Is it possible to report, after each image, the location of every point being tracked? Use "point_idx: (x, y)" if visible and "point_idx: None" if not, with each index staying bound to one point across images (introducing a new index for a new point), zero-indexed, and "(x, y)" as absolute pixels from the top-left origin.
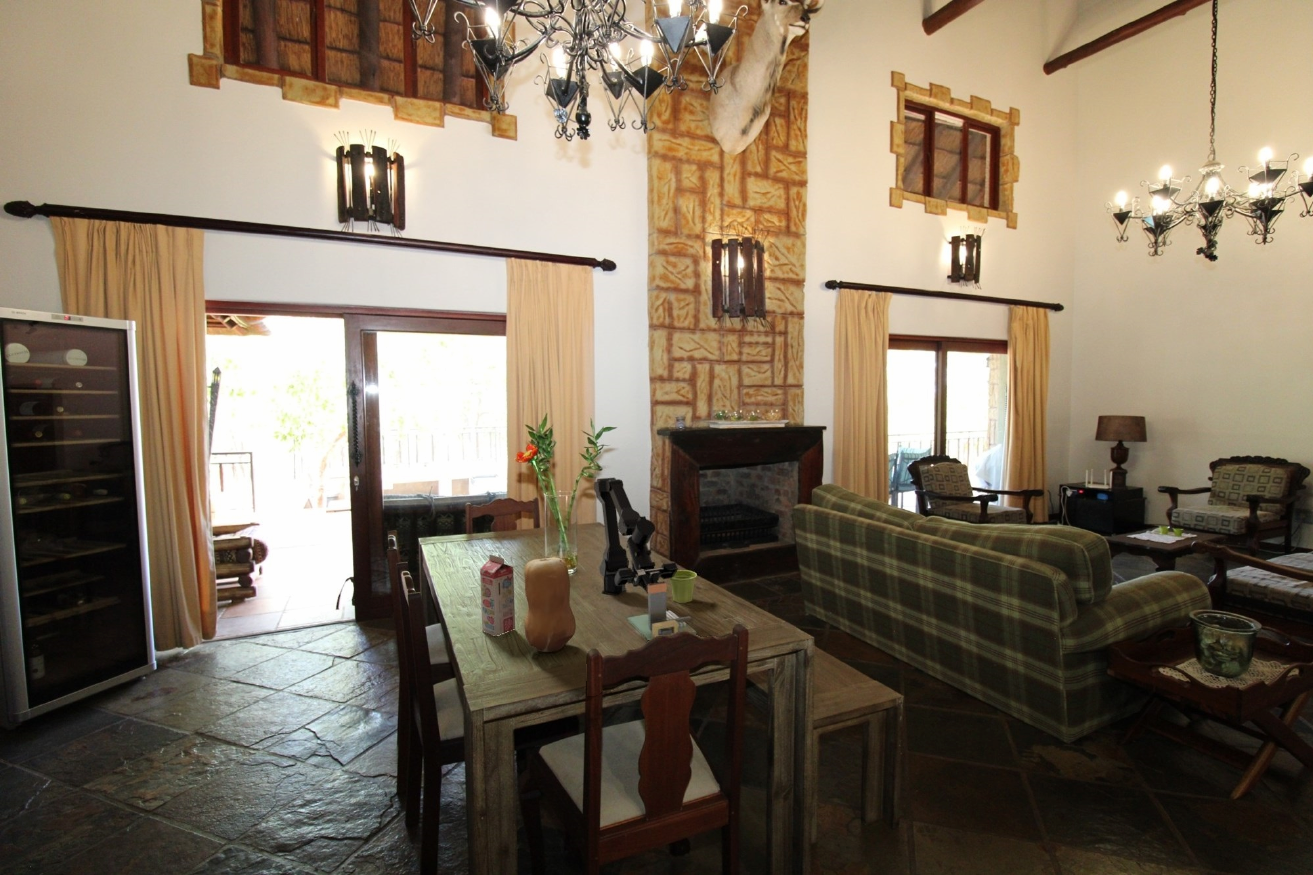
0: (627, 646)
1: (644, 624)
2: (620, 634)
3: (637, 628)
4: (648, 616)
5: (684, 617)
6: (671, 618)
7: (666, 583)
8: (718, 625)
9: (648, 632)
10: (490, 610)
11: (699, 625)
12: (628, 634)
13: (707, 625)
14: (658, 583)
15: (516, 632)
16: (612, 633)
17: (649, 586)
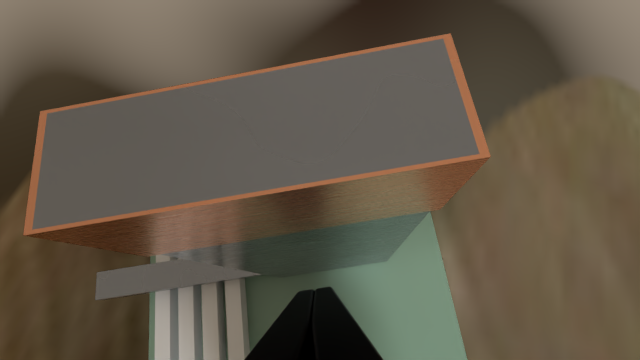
0: (528, 108)
1: (399, 342)
2: (565, 270)
3: (451, 307)
4: (393, 252)
5: (133, 283)
6: (206, 346)
7: (49, 113)
8: (8, 237)
9: None
10: None
11: (90, 266)
12: (513, 256)
13: (54, 253)
14: (210, 131)
15: None
16: (621, 301)
17: (449, 67)
